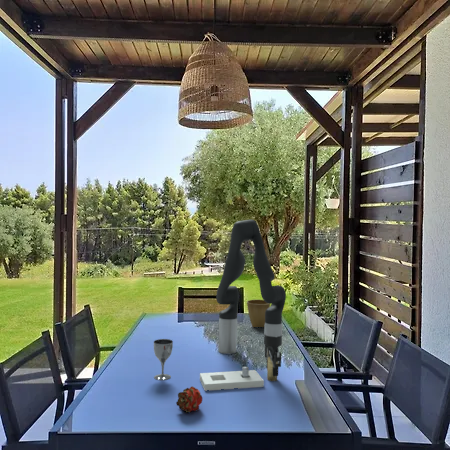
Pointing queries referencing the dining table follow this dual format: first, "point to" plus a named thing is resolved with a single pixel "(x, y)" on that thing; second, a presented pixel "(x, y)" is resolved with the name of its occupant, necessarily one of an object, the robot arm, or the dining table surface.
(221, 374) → the plate
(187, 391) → the dragon fruit
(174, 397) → the dining table surface
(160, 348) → the wine glass
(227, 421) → the dining table surface
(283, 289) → the robot arm
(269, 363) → the cylinder
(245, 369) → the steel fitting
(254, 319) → the plant pot
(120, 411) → the dining table surface
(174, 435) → the dining table surface
